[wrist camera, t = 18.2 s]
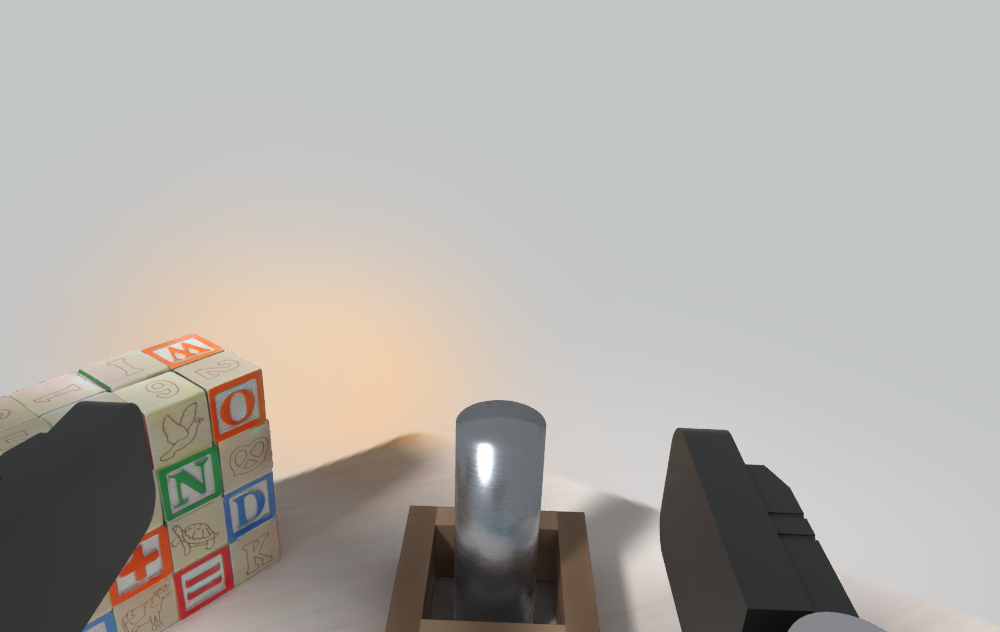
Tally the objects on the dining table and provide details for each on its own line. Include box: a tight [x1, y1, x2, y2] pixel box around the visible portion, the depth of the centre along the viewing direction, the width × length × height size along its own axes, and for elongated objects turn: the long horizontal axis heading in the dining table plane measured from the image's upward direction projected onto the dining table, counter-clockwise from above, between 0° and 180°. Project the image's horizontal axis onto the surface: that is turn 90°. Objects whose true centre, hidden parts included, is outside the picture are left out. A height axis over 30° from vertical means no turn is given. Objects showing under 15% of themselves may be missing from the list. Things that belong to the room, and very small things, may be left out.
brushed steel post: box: [454, 400, 546, 624], centre depth 36 cm, size 4×4×12 cm
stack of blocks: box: [0, 334, 281, 632], centre depth 35 cm, size 21×6×12 cm, turn 141°
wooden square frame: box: [385, 506, 599, 632], centre depth 38 cm, size 10×10×4 cm
